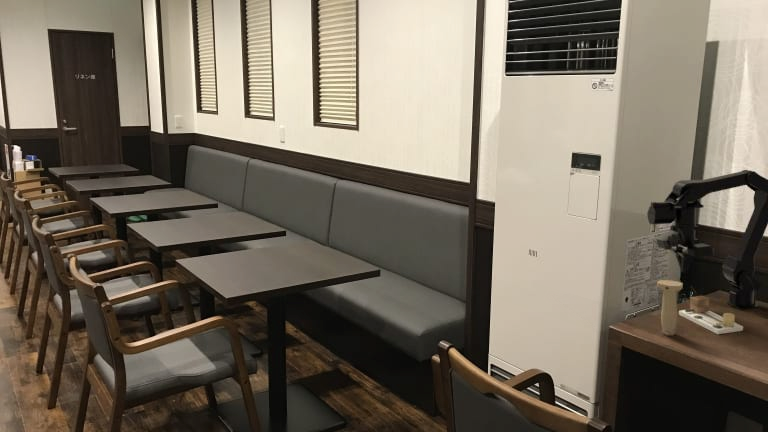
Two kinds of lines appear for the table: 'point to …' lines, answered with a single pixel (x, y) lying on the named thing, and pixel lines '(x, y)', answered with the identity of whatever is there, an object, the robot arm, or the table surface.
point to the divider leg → (698, 304)
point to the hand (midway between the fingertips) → (683, 271)
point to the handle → (669, 305)
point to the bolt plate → (713, 321)
